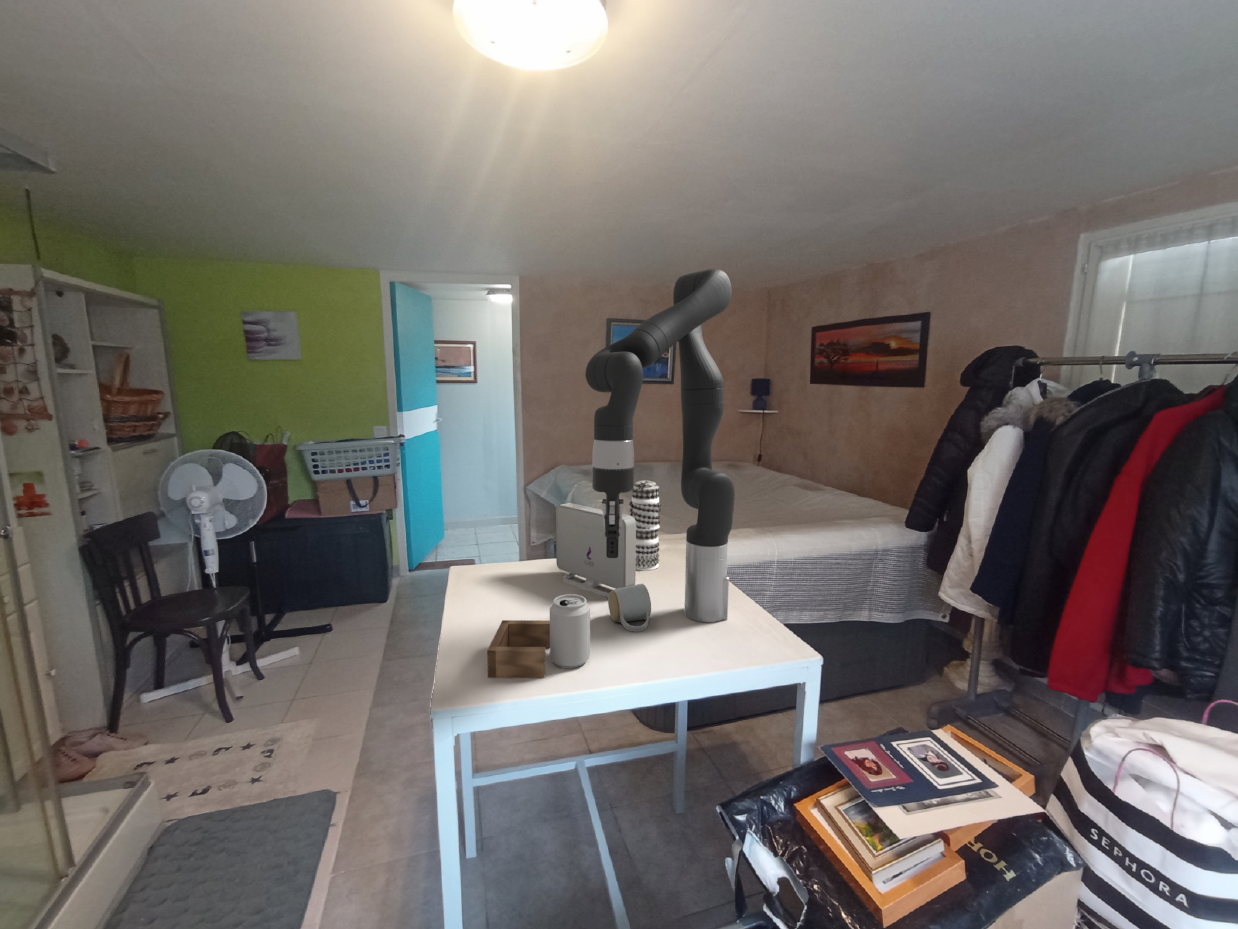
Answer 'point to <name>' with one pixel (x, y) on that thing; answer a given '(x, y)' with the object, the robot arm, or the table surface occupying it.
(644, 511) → the decorative candle
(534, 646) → the dock
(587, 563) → the network device
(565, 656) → the can
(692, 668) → the table surface
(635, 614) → the ceramic mug
